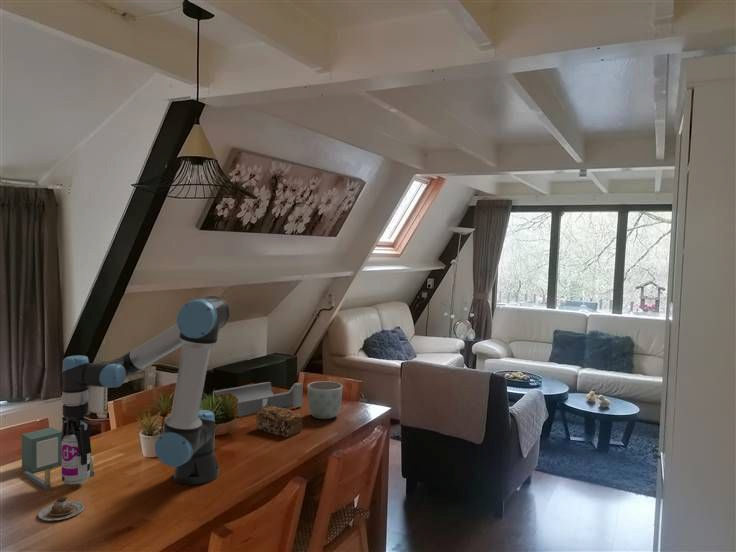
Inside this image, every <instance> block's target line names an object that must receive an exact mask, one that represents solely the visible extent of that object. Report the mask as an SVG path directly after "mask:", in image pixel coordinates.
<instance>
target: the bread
mask: <svg viewBox="0 0 736 552" xmlns="http://www.w3.org/2000/svg"><path fill="white" fill-rule="evenodd" d="M255 415H256V416H255V419H256V420H255V421H256V423H255V425H256V428H257V429H258V430H260V431H261V430H262V431H263V432H266V433H269V434H273V435H276V436H277V435H278V436H283V437H284V438H287V437H292V436H294V435H296V434H300V433H301V432H302V429H303V417H302V416H301V414H299V413H298V412H295V411H294V410H291V409H288V408H286V407H284V408H280V407H274V406H265V407H263V408H260V409H259V411H258V412H257V413H256V414H255Z"/></svg>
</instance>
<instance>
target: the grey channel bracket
mask: <svg viewBox="0 0 736 552" xmlns="http://www.w3.org/2000/svg"><path fill="white" fill-rule="evenodd" d="M303 387H304V384H303V383H301V382H295V383H293V385H292V386H291V387H290V389H289V390H288V391H287V392H280V393H276V394H274V392H273V390H272V382H271V381H265V382H259V383H254V384H247V385H242V386H237V387H229V388H222V389H217V390H212V393H213V392H214V393H215V395H220V394H225V393H231V394H232V395H233V396H235V397H236V398H237V399H238V402H237V403H238V405H237V409H238V417H237V418H240V417H241V418H242V417H246V416H250V415H257V412H258V411H259V409H260V408H263V407H265V406H274V407H280V408H288V407H293V409H295V410H296V408H298V409H299V407H300V408H301V409H302V408H303V398H304V397H303V393H304V391H303V390H304V389H303Z"/></svg>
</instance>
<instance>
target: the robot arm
mask: <svg viewBox="0 0 736 552" xmlns="http://www.w3.org/2000/svg"><path fill="white" fill-rule="evenodd" d="M230 318H231V308H230V305H229V303H228V302H227V301H226V300H225V299H224V298H222V297H219V296H217V295H209V296H205V297H202V298H201V297H198V298H194V299H192V300H190V301H188V302H186V303H185V304H183V305H182V306H181V308H180V309H179V311H178V312H177V316H176V323H175V324H174V325H172V326H170V327H169V328H167V329H165V330H163V331H162V332H160V333H158V334H157V335H155V336H153V337H152V338H150V339H148V340H147V341H146V342H143V343H141V344H140V345H138V346H137V347H135V348H133V349H132V350H130V351H129V352H127V353H125V354H124V355H122V356H120V357H118V358H115V359H113V360H109V361H107V362H105V363H103V362H102V363H95V362H94V363H92V362H90V361H89V357H88V356H86V355H80V354H79V355H78V354H77V355H70V356H66V357H65V358H64V359H63V360H62V370H61V374H62V375H61V376H62V395H61V396H62V401H61V402H62V404H63V405H62V417H61V420H62V428H61V432H62V438H61V444H62V440H63V438H64V436H65V435H67V434H68V435H71V434H74V435H75V436H76V439H77V442H78V451H79V454H78V455H77V456H78V475H82V474H85V473H87V454H89V453H90V454H92V446H91V445H92V444H91V437H90V436H91V435H90V426H91V425H90V424H91V423H90V422H87V423H86V422H85V416H86V415H88V414H89V402H88V401H89V393H90V391H89V387H94V388H95V387H96V388H97V387H98V388H106V389H107V388H108V389H111V388H119V387H121V386H122V385H123V383H125V380H126V379H127V378H129V377H133V376H135V375H137V374H138V373H139V372H141V370H143V369H145V368H146V367H148V366H150V365H152V364H154V363H155V362H157V361H158V360H160V359H162V358H163V357H166V356H167V355H169V354H170V353H172V352H174V351H175V350H177V349H179V348H180V347H182V350H181V355H180V361H179V366H178V371H177V372H178V373H177V377H176V382H175V383H176V384H175V388H174V389H175V390H174V395H173V400H172V407H171V412H170V414H169V415H168V416H166V417H165V420H164V424H163V427H162V433H161V434H160V435H159V436H158V437H157V439H156V441H155V444H154V452H155V455H156V458H158V459H159V461H160V462H161V463H162V464H164V465H166V466H168V467H173V468H174V467H175V468H174V470H173V480H174V481H175V482H176V483H179V484H183V485H189V486H190V485H191V486H192V485H201V484H206V483H209V482H211V481H214V480H215V479H217V478H218V477H219V474H220V467H219V463H218V460H217V458H216V454H215V426H216V425H215V423H216V420H215V413H214V412H213V411H211V410H207V409H201V405H202V399H203V392H204V387H205V383H206V382H205V381H206V377H207V376H206V375H207V372H208V371H207V370H208V364H209V360H210V359H209V358H210V354H211V348H212V347H213V346H214V345H216V344H217V343H218V336H219V333H220V332H219V330H220V329H222V328H224V327H225V326H226V325H227V324H228V322H229V320H230Z"/></svg>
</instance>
